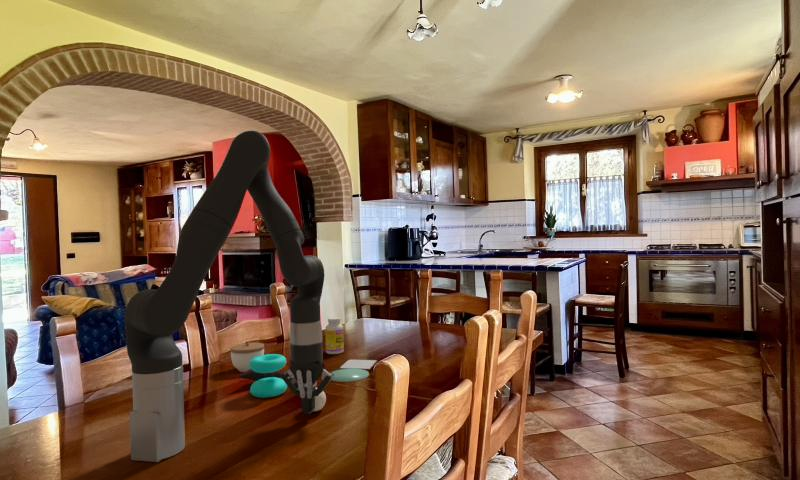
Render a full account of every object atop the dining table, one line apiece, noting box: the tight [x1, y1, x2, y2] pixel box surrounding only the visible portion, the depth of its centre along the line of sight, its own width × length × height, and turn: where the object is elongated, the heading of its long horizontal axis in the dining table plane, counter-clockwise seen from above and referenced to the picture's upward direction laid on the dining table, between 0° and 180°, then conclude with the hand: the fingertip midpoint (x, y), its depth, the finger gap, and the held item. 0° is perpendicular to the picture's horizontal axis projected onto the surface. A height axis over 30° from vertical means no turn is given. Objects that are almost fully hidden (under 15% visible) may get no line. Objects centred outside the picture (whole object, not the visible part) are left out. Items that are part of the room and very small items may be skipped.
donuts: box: [249, 353, 288, 399], centre depth 129 cm, size 10×10×10 cm
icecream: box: [238, 369, 283, 382], centre depth 138 cm, size 7×7×15 cm
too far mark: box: [339, 359, 378, 370], centre depth 156 cm, size 10×10×1 cm
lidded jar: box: [230, 340, 265, 373], centre depth 153 cm, size 11×11×9 cm
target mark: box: [330, 368, 370, 383], centre depth 144 cm, size 13×13×1 cm
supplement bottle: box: [324, 316, 345, 355], centre depth 173 cm, size 7×7×13 cm
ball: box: [313, 387, 327, 412], centre depth 115 cm, size 6×6×6 cm
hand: (308, 412), depth 110 cm, fingers closed
